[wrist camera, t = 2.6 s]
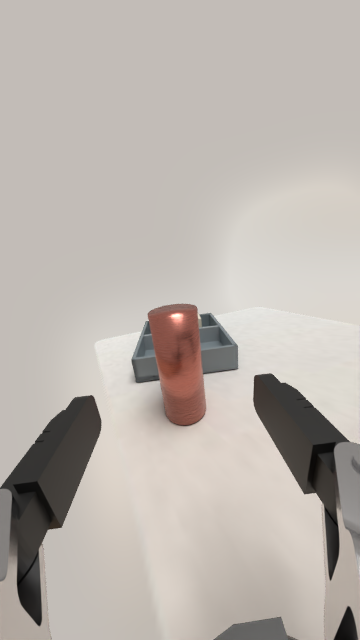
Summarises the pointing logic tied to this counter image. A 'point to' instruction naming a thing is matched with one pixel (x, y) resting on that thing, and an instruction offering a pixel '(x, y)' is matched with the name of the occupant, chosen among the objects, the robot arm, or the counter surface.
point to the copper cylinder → (179, 361)
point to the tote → (214, 350)
